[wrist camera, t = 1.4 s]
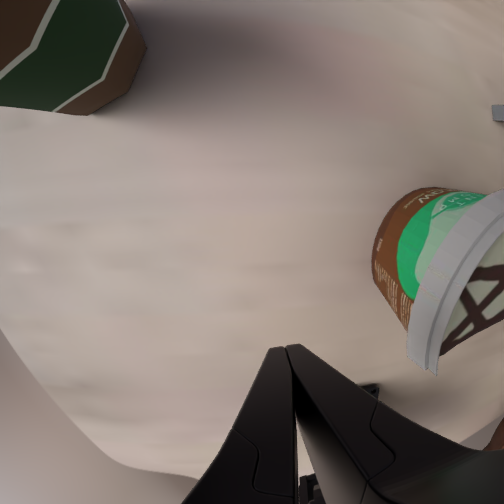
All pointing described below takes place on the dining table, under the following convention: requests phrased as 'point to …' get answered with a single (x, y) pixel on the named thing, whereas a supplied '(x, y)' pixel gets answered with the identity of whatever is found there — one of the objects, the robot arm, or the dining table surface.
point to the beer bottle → (67, 54)
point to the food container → (442, 267)
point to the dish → (497, 439)
